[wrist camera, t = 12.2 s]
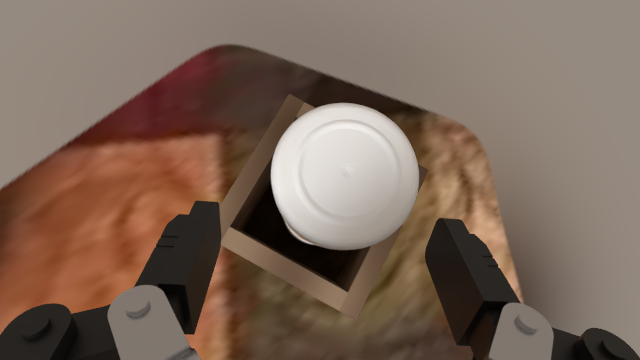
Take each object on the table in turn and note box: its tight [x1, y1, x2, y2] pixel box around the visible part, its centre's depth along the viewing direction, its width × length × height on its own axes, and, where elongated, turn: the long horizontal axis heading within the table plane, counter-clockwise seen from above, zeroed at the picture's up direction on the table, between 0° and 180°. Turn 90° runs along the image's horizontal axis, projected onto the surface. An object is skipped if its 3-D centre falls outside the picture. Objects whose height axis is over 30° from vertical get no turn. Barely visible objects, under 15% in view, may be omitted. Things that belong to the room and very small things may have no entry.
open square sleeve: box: [219, 94, 429, 320], centre depth 21 cm, size 9×9×5 cm
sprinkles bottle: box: [271, 103, 419, 250], centre depth 16 cm, size 5×5×13 cm
